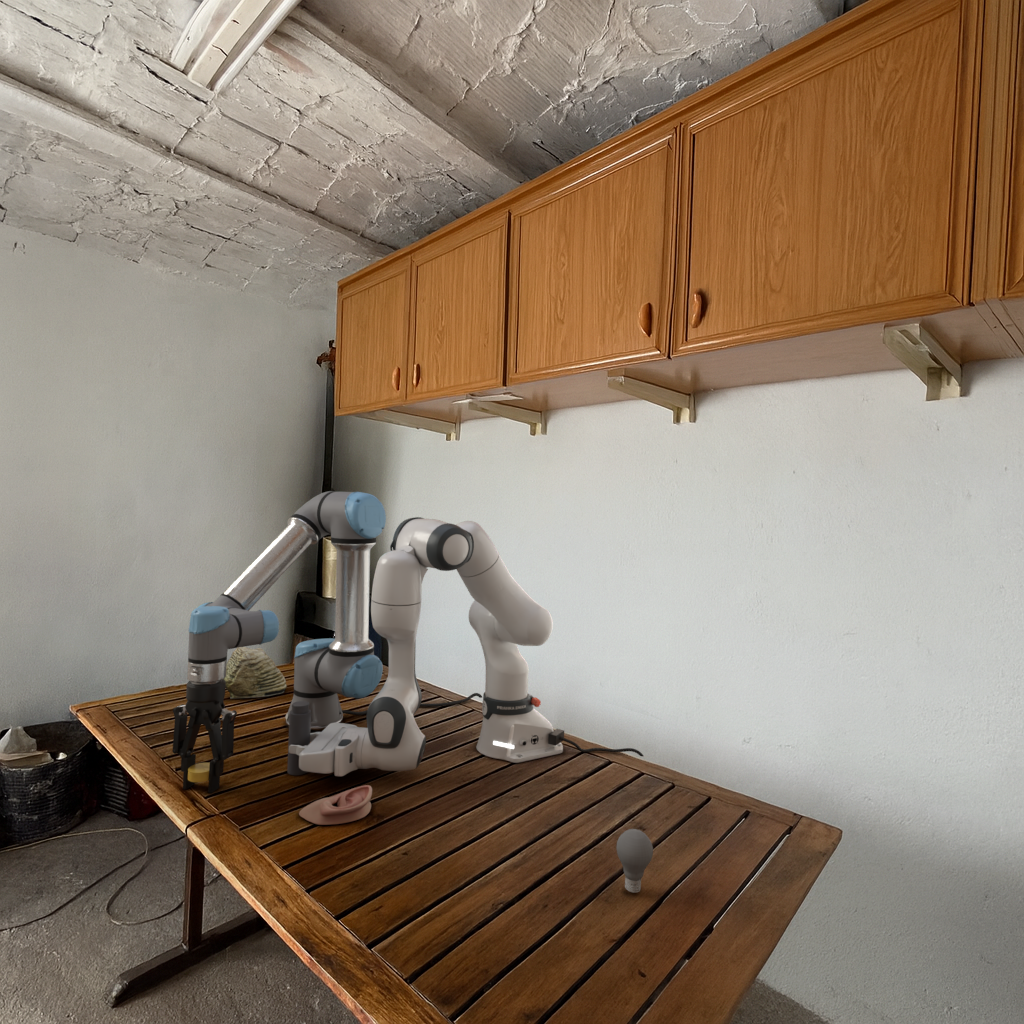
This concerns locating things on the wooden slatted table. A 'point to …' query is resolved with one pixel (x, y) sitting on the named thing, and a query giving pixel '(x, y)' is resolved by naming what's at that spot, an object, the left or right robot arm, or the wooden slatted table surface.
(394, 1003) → the wooden slatted table surface
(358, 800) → the anatomical model
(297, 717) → the dark grey bottle
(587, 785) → the wooden slatted table surface
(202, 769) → the lid
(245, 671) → the fossil
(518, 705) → the right robot arm
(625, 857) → the light bulb
